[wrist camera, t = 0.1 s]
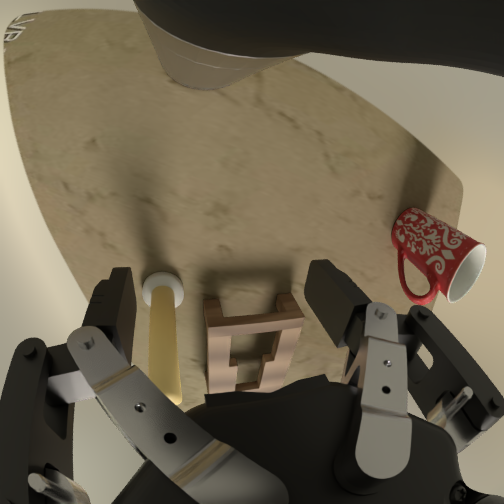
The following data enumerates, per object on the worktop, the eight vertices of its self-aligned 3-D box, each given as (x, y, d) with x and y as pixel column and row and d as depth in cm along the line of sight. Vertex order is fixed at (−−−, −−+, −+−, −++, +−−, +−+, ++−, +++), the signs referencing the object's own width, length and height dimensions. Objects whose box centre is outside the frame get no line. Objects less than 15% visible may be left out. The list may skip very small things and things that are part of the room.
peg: (140, 272, 30) (129, 384, 17) (182, 270, 31) (193, 382, 18) (145, 304, 32) (142, 412, 19) (184, 303, 33) (197, 410, 21)
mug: (420, 189, 34) (489, 230, 23) (429, 231, 39) (484, 274, 28) (361, 238, 35) (425, 296, 24) (377, 276, 40) (428, 331, 29)
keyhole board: (203, 299, 34) (208, 327, 30) (291, 293, 37) (305, 317, 33) (205, 378, 43) (209, 401, 38) (271, 369, 46) (279, 391, 42)
